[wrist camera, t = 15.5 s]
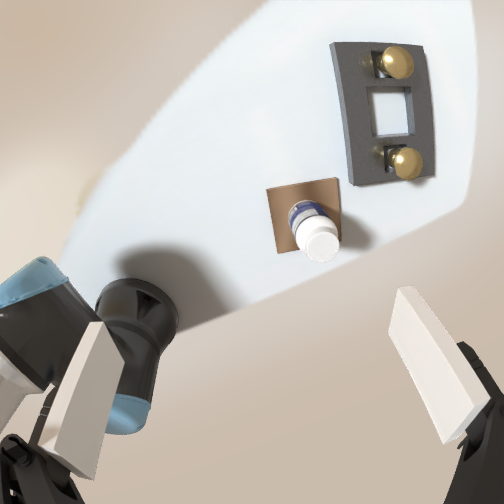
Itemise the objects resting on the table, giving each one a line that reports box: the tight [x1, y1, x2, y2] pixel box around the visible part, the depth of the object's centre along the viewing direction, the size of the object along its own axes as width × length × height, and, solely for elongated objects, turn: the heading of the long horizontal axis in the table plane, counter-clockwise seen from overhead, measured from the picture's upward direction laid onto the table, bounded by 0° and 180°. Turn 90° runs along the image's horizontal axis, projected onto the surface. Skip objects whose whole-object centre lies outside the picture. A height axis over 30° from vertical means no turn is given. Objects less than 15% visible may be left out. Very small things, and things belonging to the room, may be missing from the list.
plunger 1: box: [376, 46, 414, 79], centre depth 29 cm, size 4×4×4 cm
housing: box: [329, 42, 434, 186], centre depth 35 cm, size 14×20×2 cm
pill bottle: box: [288, 200, 339, 262], centre depth 38 cm, size 5×5×10 cm
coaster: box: [266, 177, 341, 254], centre depth 43 cm, size 10×10×1 cm
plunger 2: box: [387, 147, 423, 181], centre depth 36 cm, size 4×4×4 cm
